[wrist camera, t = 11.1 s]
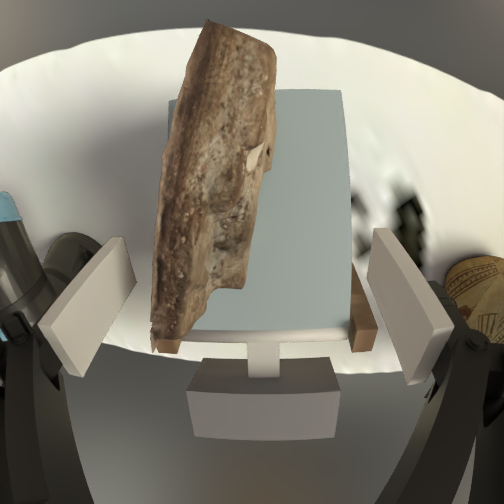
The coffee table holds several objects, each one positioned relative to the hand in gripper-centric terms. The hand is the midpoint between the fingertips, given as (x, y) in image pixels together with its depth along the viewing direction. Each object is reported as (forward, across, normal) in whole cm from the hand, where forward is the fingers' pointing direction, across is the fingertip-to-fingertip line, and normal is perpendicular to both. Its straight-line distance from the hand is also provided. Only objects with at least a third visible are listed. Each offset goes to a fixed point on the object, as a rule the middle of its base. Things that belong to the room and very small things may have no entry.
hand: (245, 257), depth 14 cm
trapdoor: (+13, 0, -9) cm, 16 cm away
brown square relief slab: (+13, -1, -1) cm, 13 cm away
